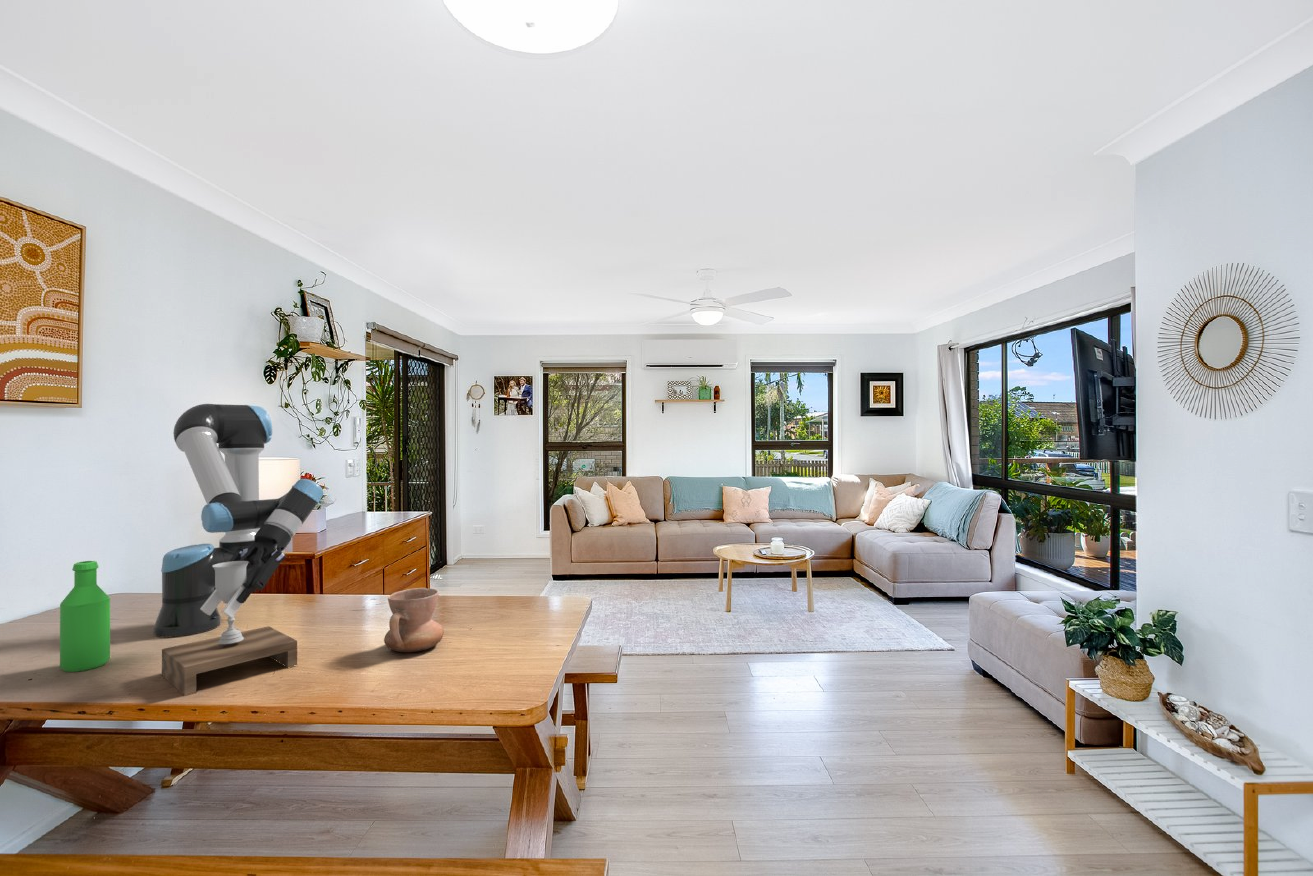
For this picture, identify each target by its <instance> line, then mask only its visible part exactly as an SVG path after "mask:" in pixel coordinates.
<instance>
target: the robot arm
mask: <svg viewBox="0 0 1313 876" xmlns="http://www.w3.org/2000/svg"><path fill="white" fill-rule="evenodd" d="M172 433H173V439H174V440H173V441H174V442H175V445H176V447H177V448H178V450H179V451H180V452H183V453H184V454H185V456H186V459H187V461H188V463H189V465H190V468H191V471H192V473H193V475H194V478H195V479H196V482H197V484H198V487H199V488H200V492H201V493H202V495H203V498H204V501H205V503H206V504H205V505H204V506H203V507H202V509H201V515H200V518H201V526H202V527H203V530H204V531H205V532H207V533H210V534H211V533H212V534H213V533H216V534H217V533H225V534H224V535H223V536H222V538H220V539H219V541H218V542H219V545H218V547H215V546H214V545H213V544H212V543H200V544H192V545H187V546H186V545H185V546H183V547H178V548H174V549H172V550H169V551H168V552H166V553H165V554H164V555H163V558H162V564H161V570H160V572H161V600H162V601H161V603H162V604H161V607H160V610H159V612H158V615H157V618H156V621H155V622H154V626H153V628H154V629H153V634H154V636H157V637H161V638H162V636H163V637H164V638H166V636H167V638H169V636H174V637H183V636H189V635H197V634H201V633H204V632H208V631H212V630H213V629H212V628H214V629H216V628H218V627H219V626H220V625H221V624H220V623H221V618H222V617H221V615H220V612H219V609H218V606H219V605H220V604H221V603H222V602H223V601H222V599H221V598H220V596H219V594H218V592H217V590H216V588H215V570H214V568H213V567H212V566H213V565H215V564H219V563H224V562H231V561H248V562H249V563H248V565H247V566H246V583H244V584H243V583H242V585H243V586H245V587H241V586H240V588H239V589H238V590H237V592H236V593H235V594H234V596H233V597H232V598H231V600H230V601H229V602H228V604H226V605H225V606H224V608H223V609H222V610H221V612H222V614H224V615H226V616H227V617H230V618H232V617H233V616H234V617H235V614H236V613H237V612H238V610H240V607H241V606H242V605H243V604H245V603H246V601H247V600H248V598H249V597H250V596H251V594H252V593H254V592H255V591H257V590H258V591H263V589H264V588H265V587H266V585H267V584H268V582H269V580H270V579H271V577H272V576H273V575H274V573H275V571H276V570H277V568H278V567H279V566H280V564H282V562H283V561H284V560H285V559H287V555H286V554H285V553H283V551H285V549H286V548H287V547H288V545H289V544H290V542H291V541H292V538H294V536H295V535H296V534H297V532H298V531H299V529H300V528H301V527H302V525H303V524H304V522H305V521H306V520H307V518H308V517H309V516H310V514H311V513H312V512H313V510H314V509H315V508H316V506H317V505H318V504H319V503H320V500H321V499H322V498H323V496H324V494H325V493H324V489H323V488H322V486H320V485H319V484H318V483H317V482H315V481H313V480H312V479H308V478H301V479H298V480H297V481H296V482H295V483H294V484H293V485H292V486H291V488H290V490H289V491H288V492H286V493H285V494H284V495H282V496H281V497H279V498H270V499H260V487H259V486H260V482H259V479H260V476H259V474H260V471H259V468H260V467H259V463H260V462H259V455H260V453H261V452H262V451H265V444H268V443H269V442H271V440H272V436H273V424H272V420H271V417H270V415H269V414H268V412H267V410H266V409H265V408H264V407H263V406H262V407H261V406H258V405H250V404H220V403H219V404H216V403H215V404H214V403H203V404H202V403H201V404H197V405H195V406H192V407H190V408H188V409H187V410H185V411H184V412H183V413H182V414H181V415H180V416H179V417H178V419H176V422H175V424H174V427H173V432H172ZM222 454H223V455H224V457H223V455H222ZM217 626H218V627H217ZM215 627H216V628H215ZM200 632H201V633H200Z"/></svg>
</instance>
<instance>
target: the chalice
mask: <svg viewBox="0 0 1313 876" xmlns="http://www.w3.org/2000/svg"><path fill="white" fill-rule="evenodd" d="M248 563H249V562H248V561H231V562H224V563H219V564H215V565H213V566H212V567H213V568H214V570H215V588H216V590H217V592H218V594H219V596H220V598H221V599H222V601H221V602H223V604H226V605H227V604H228V602H229V601H230V600H231V598H232V597H233V596H234V594H235V593H236V592H237V590H238V589H239V588H240V586H241V587H244V588H245V586H243V585H242V583H243V584H244V583H246V566H247V565H248ZM215 588H214V589H215ZM227 617H228V616H227ZM235 620H236V618H235V615H234V616H233V617H232V618H230V617H228V618H227V619H226V622H227V623H228V627H227V629H226V630H223V632H222V633H221V635H220V636H221V637H220V636H219V637H220V640H219V641H218V643H219V644H230V643H235V642H239V641H241V640H243V639H244V637H243V636H242V634H241V632H242V631H241V630H240V629H239V628H236V627H235V625H234V622H235Z"/></svg>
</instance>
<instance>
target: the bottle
mask: <svg viewBox="0 0 1313 876" xmlns="http://www.w3.org/2000/svg"><path fill="white" fill-rule="evenodd" d="M97 569H99V564H98V562H97V561H96V560H85V561H84V560H83V561H79V562H76V563H74V564H73V566H72V571H73V572H74V577H73V578H74V580H73V581H74V585H73V587H72V589H71V590H70V591H69V592H68V594H67V595H66V596H65V598H64V599H63V600H62V601H61V602H60V604H59V606H60V607H59V668H60V670H63V671H65V672H68V673H69V672H70V673H76V672H83V671H84V672H85V671H89V670H93V669H96V668H99V667H102V666H104V665H105V664H106V663H107V662H108V661H110V660H111V597H110V596H109V595H108V594H107V593H106V592H105V591H104V590H103V589H102V588H101V587H100V586H99V585H98V584H97V579H98V578H97V576H98V575H97V572H98V571H97Z"/></svg>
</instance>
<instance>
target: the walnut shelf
mask: <svg viewBox="0 0 1313 876" xmlns="http://www.w3.org/2000/svg"><path fill="white" fill-rule="evenodd" d="M241 634H242V636H243V637H244V639H243V640H241V641H239V642H235V643H230V644H219V643H218V641H219V640H220V637H221V635H220V636H216V637H211V638H207V639H202V640H197V641H193V642H188V643H185V644H179V645H174V646H169V647H165V648H161V676H162V677H163V678H164V679H165V680H167V681H168V682H169V683H170V684H171V685H172V686H174V688H175V689H176V690H178V691H179V692H180V691H181V692H182V693H183V694H184V695H183V694H182V693H181V692H180V693H181V694H182V695H183V696H188V695H189V696H190V695H193V694H196V693H197V675H198V674H201V673H207V672H209V671H210V672H211V671H214V670H217V669H223V668H226V667H227V668H228V667H230V666H234V665H235V666H236V665H238V664H242V663H245V662H250V661H255V660H258V659H263V658H267V657H268V656H269V657H268V658H270V657H271V658H270V659H272V660H274V659H275V660H277V661H278V662H277V661H276V662H277V663H279V662H280V663H281V665H282V664H284V665H285V666H287V667H290V668H292V667H291V666H294V665H297V666H298V640H297V639H294V638H293V637H291V636H289V635H287V634H285V633H284V632H282V631H279V630H277V629H275V628H273V627H272V626H269V625H267V626H263V627H258V628H254V629H251V630H250V629H249V630H245V631H241ZM275 660H274V661H275ZM280 663H279V664H280ZM284 665H283V666H284ZM285 666H284V667H285ZM287 667H286V668H287ZM294 667H295V666H294ZM192 693H193V694H192Z"/></svg>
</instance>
